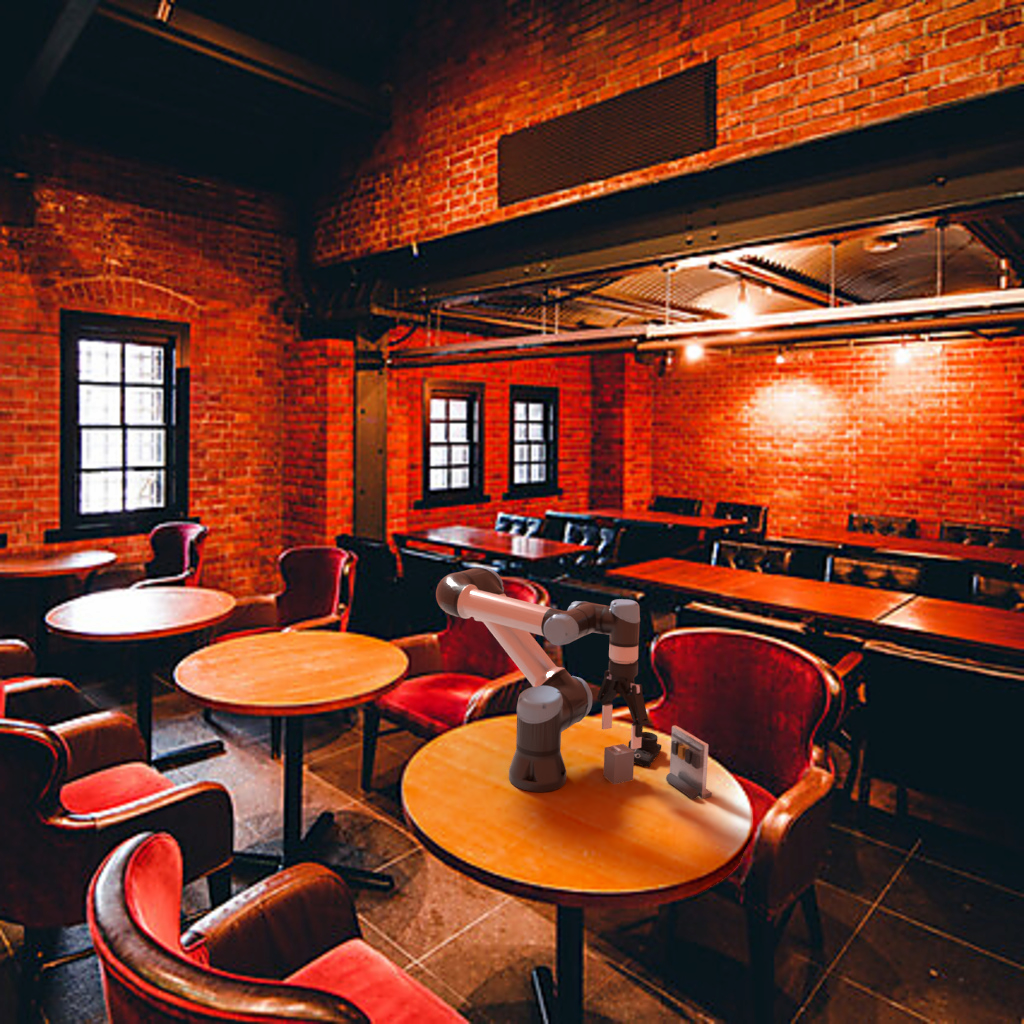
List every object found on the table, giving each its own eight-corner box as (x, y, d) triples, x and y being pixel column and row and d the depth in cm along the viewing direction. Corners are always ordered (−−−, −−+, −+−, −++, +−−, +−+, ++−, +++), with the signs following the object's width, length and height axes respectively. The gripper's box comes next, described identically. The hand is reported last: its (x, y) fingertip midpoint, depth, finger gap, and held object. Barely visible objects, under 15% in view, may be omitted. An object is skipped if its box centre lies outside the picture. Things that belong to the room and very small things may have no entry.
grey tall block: (613, 784, 191) (615, 753, 190) (603, 776, 195) (604, 745, 194) (636, 779, 194) (637, 748, 193) (625, 771, 198) (626, 741, 197)
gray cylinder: (698, 798, 185) (698, 789, 184) (690, 800, 184) (691, 791, 183) (673, 780, 194) (673, 772, 193) (665, 782, 193) (666, 773, 192)
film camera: (651, 751, 198) (621, 732, 204) (643, 775, 200) (614, 755, 206) (674, 739, 209) (645, 721, 215) (666, 761, 210) (638, 743, 216)
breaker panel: (698, 799, 184) (701, 746, 182) (666, 776, 196) (669, 726, 194) (711, 796, 186) (714, 743, 184) (679, 774, 197) (681, 724, 196)
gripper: (664, 672, 181) (661, 754, 183) (609, 645, 203) (607, 718, 206) (639, 675, 178) (636, 759, 180) (586, 648, 200) (584, 722, 202)
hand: (620, 737), depth 193 cm, fingers open, 13 cm apart
